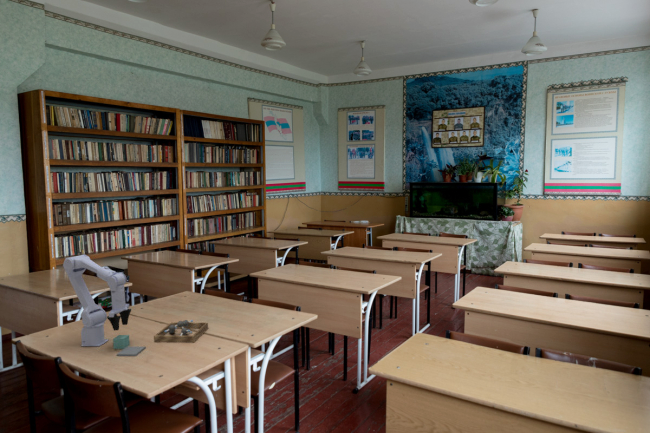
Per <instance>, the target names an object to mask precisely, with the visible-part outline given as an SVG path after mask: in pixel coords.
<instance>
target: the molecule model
mask: <svg viewBox="0 0 650 433" xmlns="http://www.w3.org/2000/svg"><path fill="white" fill-rule="evenodd" d="M177 322H178V323H177V325H175V326H174V325H170V326H169V329H168V330H165V331H164V332H165V333H166V332H167V331H168V333H169V334H174V333H175V332H176V330H178V329H177V327H176V326H178V327H180V328H181V327H182V329H181V333H180V335H179V336H186V335H187V334H188V333H189V334H190V333H192V334H193V331H191V330H190V329H187V328H183V326H185V327H186V326H188V324H189V323H194V320H193V319H190V320H187V319H184V320H179V321H177Z"/></svg>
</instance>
